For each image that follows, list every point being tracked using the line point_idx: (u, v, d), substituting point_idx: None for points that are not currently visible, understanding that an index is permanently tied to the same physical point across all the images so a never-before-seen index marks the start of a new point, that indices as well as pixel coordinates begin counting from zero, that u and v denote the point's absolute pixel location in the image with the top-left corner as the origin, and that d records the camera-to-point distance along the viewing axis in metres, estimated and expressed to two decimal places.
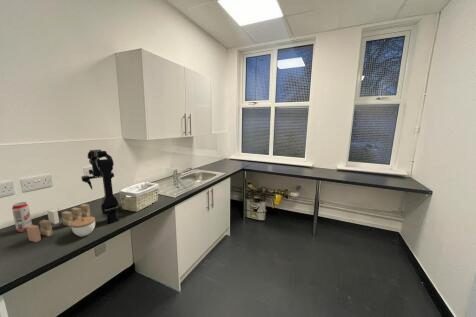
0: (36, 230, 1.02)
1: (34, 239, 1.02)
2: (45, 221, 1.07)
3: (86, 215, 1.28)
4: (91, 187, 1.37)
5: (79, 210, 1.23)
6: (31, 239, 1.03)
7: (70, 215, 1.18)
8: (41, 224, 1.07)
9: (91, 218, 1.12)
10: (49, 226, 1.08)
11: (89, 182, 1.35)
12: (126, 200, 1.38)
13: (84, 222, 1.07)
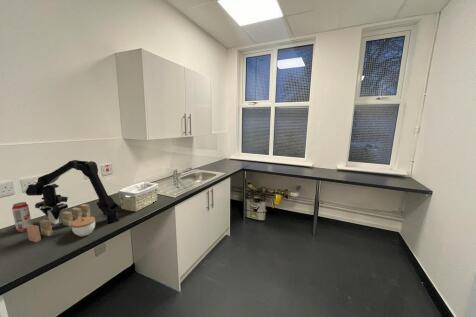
0: (36, 230, 1.02)
1: (34, 239, 1.02)
2: (45, 221, 1.07)
3: (86, 215, 1.28)
4: (47, 216, 1.20)
5: (79, 210, 1.23)
6: (31, 239, 1.03)
7: (70, 215, 1.18)
8: (41, 224, 1.07)
9: (91, 218, 1.12)
10: (49, 226, 1.08)
11: (42, 210, 1.18)
12: (125, 200, 1.38)
13: (84, 222, 1.07)
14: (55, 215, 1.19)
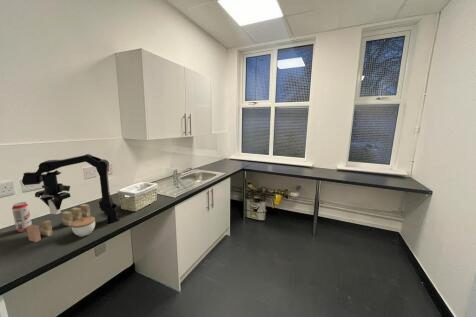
0: (36, 230, 1.02)
1: (34, 239, 1.02)
2: (45, 221, 1.07)
3: (86, 215, 1.28)
4: (48, 206, 1.11)
5: (79, 210, 1.23)
6: (31, 239, 1.03)
7: (70, 215, 1.18)
8: (41, 224, 1.07)
9: (91, 218, 1.12)
10: (49, 226, 1.08)
11: (42, 200, 1.09)
12: (125, 200, 1.39)
13: (84, 222, 1.07)
14: (57, 205, 1.09)
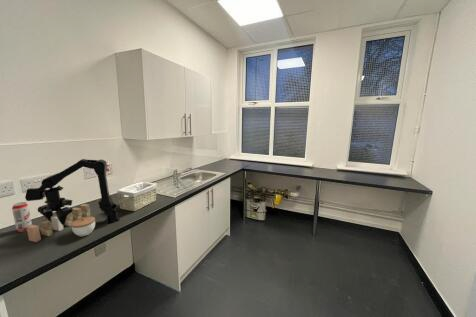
0: (36, 230, 1.02)
1: (34, 239, 1.02)
2: (45, 221, 1.07)
3: (86, 215, 1.28)
4: (48, 220, 1.13)
5: (79, 210, 1.23)
6: (31, 239, 1.03)
7: (70, 215, 1.18)
8: (41, 224, 1.07)
9: (91, 218, 1.12)
10: (49, 226, 1.08)
11: (42, 214, 1.11)
12: (124, 200, 1.39)
13: (84, 222, 1.07)
14: (62, 220, 1.11)
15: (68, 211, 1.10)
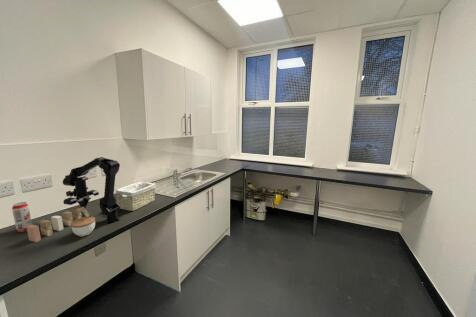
0: (36, 230, 1.02)
1: (34, 239, 1.02)
2: (45, 221, 1.07)
3: (85, 216, 1.28)
4: (84, 207, 1.27)
5: (79, 210, 1.23)
6: (31, 239, 1.03)
7: (70, 215, 1.18)
8: (41, 224, 1.07)
9: (91, 218, 1.12)
10: (49, 226, 1.08)
11: (83, 201, 1.25)
12: (122, 199, 1.39)
13: (84, 222, 1.07)
14: None
15: None
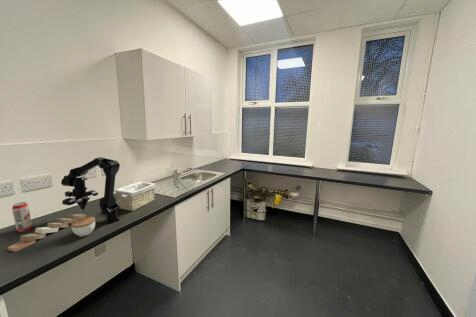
0: (20, 248, 0.96)
1: None
2: (24, 238, 0.99)
3: None
4: (83, 207, 1.27)
5: (65, 220, 1.16)
6: None
7: (57, 225, 1.11)
8: None
9: (91, 218, 1.12)
10: (34, 237, 1.01)
11: (82, 202, 1.24)
12: (122, 199, 1.39)
13: (84, 222, 1.07)
14: None
15: None
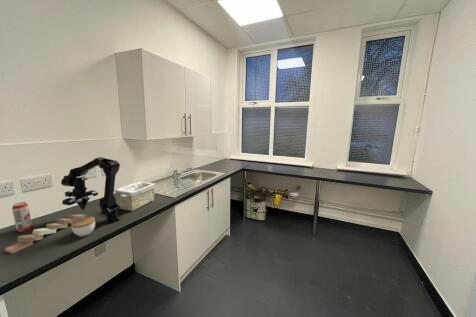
0: (17, 249, 0.95)
1: None
2: (22, 239, 0.97)
3: None
4: (83, 207, 1.27)
5: (65, 221, 1.15)
6: None
7: (56, 226, 1.11)
8: None
9: (91, 218, 1.12)
10: (32, 238, 1.00)
11: (82, 202, 1.24)
12: (122, 199, 1.40)
13: (84, 222, 1.07)
14: None
15: None
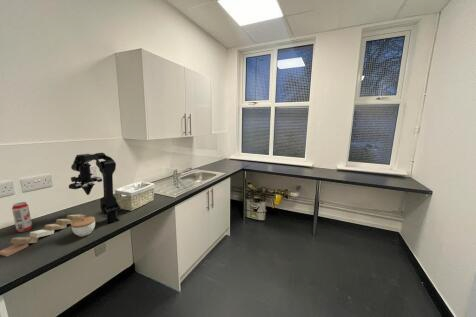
0: (12, 252, 0.93)
1: None
2: (15, 241, 0.95)
3: None
4: (88, 192, 1.32)
5: (63, 221, 1.15)
6: None
7: (54, 227, 1.10)
8: None
9: (91, 218, 1.12)
10: (26, 240, 0.97)
11: (88, 187, 1.30)
12: (121, 199, 1.40)
13: (84, 222, 1.07)
14: None
15: None
